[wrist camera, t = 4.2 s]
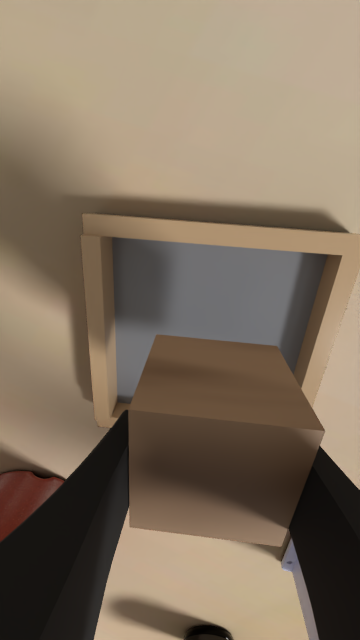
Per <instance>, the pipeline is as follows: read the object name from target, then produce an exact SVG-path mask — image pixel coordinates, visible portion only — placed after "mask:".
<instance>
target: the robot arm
mask: <svg viewBox="0 0 360 640" xmlns="http://www.w3.org/2000/svg"><path fill="white" fill-rule="evenodd" d="M128 508H129V421H128V410H125V411H123V412H122V414H121V415H120V417H119V418H118V419H117V421H116V422H115V423H114V425H113V426H112V427H111V429H110V430H109V431H108V433H107V434H106V435H105V436H104V438H103V439H102V440H101V441H100V442H99V444H98V445H97V446H96V447H95V448H94V449H93V451H92V452H91V453H90V454H89V455H88V457H87V458H86V459H85V460H84V461H83V462H82V463H81V464H80V465H79V467H78V468H77V469H76V470H75V471H74V472H73V473H72V474H71V475H70V476H69V477H68V478H67V479H66V480H65V481H64V483H63V484H62V485H61V486H60V487H59V488H58V489H57V490H56V491H55V492H54V493H53V494H52V495H51V496H50V497H49V498H48V499H47V500H46V501H45V502H44V503H43V504H42V505H40V506H39V507H38V508H37V509H36V510H35V511H34V512H33V513H32V514H31V515H30V516H29V517H28V518H27V519H26V520H24V521H23V522H22V523H21V524H20V525H19V526H18V527H17V528H15V529H14V530H13V531H12V532H11V533H10V534H9V535H7V536H6V537H5V538H4V539H3V540H2V541H1V542H0V640H94V635H95V631H96V626H97V622H98V618H99V613H100V609H101V605H102V600H103V596H104V592H105V587H106V583H107V579H108V575H109V571H110V568H111V564H112V560H113V557H114V554H115V551H116V547H117V544H118V541H119V537H120V534H121V531H122V528H123V524H124V521H125V518H126V514H127V511H128ZM289 531H290V534H291V540H290V542H289V545H288V547H287V550H286V552H285V555H284V557H283V560H282V562H281V566H282V569H283V570H285V571H291V572H292V573H293V577H294V581H295V585H296V589H297V593H298V597H299V601H300V605H301V609H302V613H303V617H304V621H305V625H306V629H307V633H308V637H309V640H360V490H359V489H358V488H357V487H356V486H355V485H354V484H353V483H352V481H351V480H350V479H349V478H348V477H347V476H346V475H345V474H344V473H343V471H342V470H341V469H340V468H339V467H338V466H337V465H336V464H335V463H334V461H333V460H332V459H331V458H330V457H329V456H328V455H327V453H326V452H325V451H324V450H323V449H322V448H321V447H320V446H319V449H318V451H317V454H316V457H315V459H314V462H313V464H312V467H311V470H310V472H309V475H308V478H307V480H306V483H305V486H304V488H303V491H302V493H301V496H300V499H299V501H298V504H297V507H296V509H295V512H294V514H293V517H292V520H291V522H290V525H289Z"/></svg>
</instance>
